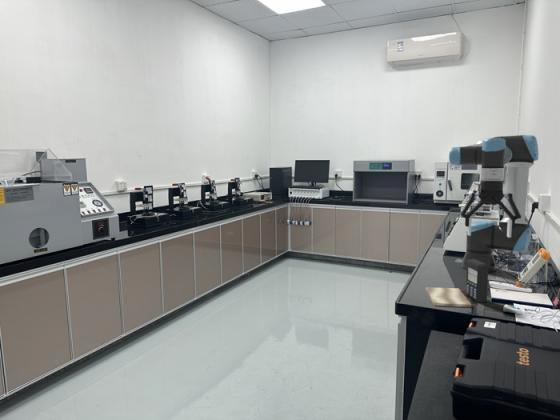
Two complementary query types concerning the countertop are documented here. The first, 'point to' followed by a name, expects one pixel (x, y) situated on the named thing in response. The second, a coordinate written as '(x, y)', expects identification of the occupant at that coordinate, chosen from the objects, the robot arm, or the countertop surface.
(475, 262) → the card reader
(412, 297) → the countertop surface
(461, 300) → the birch board
